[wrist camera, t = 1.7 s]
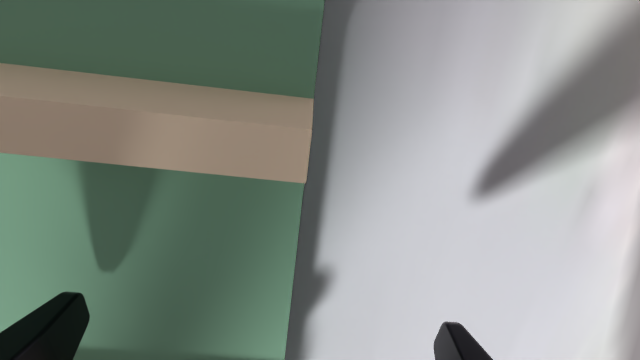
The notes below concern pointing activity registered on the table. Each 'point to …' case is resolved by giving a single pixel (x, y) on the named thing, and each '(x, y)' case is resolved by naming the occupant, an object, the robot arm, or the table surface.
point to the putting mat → (157, 169)
